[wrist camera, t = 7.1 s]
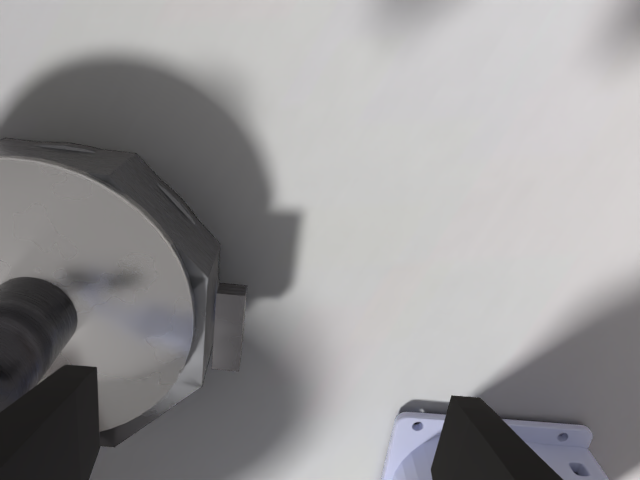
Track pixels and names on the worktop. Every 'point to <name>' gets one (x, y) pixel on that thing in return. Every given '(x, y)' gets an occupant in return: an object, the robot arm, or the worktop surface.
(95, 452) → the robot arm
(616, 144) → the worktop surface
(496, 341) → the worktop surface
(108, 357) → the lid
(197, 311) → the pot
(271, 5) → the worktop surface
